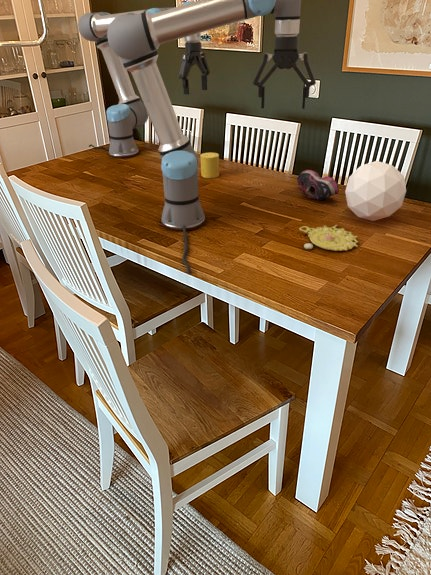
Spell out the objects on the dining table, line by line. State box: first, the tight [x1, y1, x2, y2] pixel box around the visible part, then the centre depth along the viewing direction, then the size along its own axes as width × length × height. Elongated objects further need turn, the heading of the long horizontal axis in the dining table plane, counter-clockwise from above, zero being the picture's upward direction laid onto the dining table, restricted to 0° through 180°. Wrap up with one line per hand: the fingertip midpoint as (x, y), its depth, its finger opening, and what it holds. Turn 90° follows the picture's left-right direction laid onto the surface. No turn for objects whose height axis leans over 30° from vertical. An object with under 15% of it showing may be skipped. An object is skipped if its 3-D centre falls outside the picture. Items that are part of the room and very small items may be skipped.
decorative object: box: [299, 224, 359, 252], centre depth 141 cm, size 21×2×20 cm
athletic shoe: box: [294, 169, 340, 201], centre depth 171 cm, size 11×22×12 cm
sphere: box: [344, 160, 407, 222], centre depth 150 cm, size 19×20×20 cm
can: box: [199, 152, 220, 179], centre depth 196 cm, size 8×8×9 cm
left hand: (195, 92), depth 213 cm, fingers open, 13 cm apart
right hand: (282, 107), depth 149 cm, fingers open, 13 cm apart
